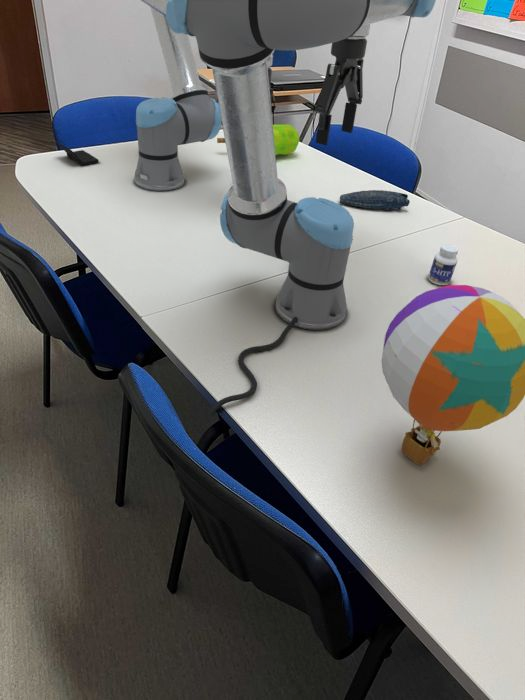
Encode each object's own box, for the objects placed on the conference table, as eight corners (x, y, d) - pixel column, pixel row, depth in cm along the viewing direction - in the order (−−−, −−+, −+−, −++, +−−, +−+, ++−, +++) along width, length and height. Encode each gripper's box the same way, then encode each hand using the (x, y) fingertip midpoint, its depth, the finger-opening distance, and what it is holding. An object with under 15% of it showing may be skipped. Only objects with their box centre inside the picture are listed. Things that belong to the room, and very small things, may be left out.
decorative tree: (214, 118, 187) (294, 118, 193) (214, 147, 194) (292, 146, 199) (220, 132, 174) (307, 132, 179) (220, 164, 180) (304, 162, 185)
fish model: (408, 214, 157) (412, 198, 153) (339, 207, 158) (341, 191, 154) (406, 206, 162) (410, 190, 159) (339, 199, 163) (341, 183, 160)
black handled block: (103, 155, 172) (82, 133, 163) (91, 173, 171) (70, 152, 162) (82, 151, 178) (61, 130, 170) (71, 168, 177) (49, 148, 168)
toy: (330, 445, 83) (367, 285, 64) (404, 395, 93) (455, 244, 75) (432, 532, 72) (514, 369, 53) (503, 464, 82) (592, 308, 64)
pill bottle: (426, 282, 126) (437, 249, 120) (429, 272, 130) (439, 240, 124) (449, 287, 124) (460, 254, 119) (450, 277, 128) (461, 245, 123)
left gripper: (246, 74, 123) (240, 170, 138) (290, 64, 136) (280, 152, 151) (221, 68, 126) (218, 162, 141) (266, 58, 139) (259, 145, 154)
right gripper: (358, 29, 122) (343, 123, 135) (307, 38, 105) (295, 145, 118) (388, 34, 119) (369, 130, 133) (340, 44, 102) (324, 153, 116)
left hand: (250, 157), depth 146 cm, fingers closed on can, 7 cm apart
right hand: (334, 137), depth 126 cm, fingers open, 13 cm apart
